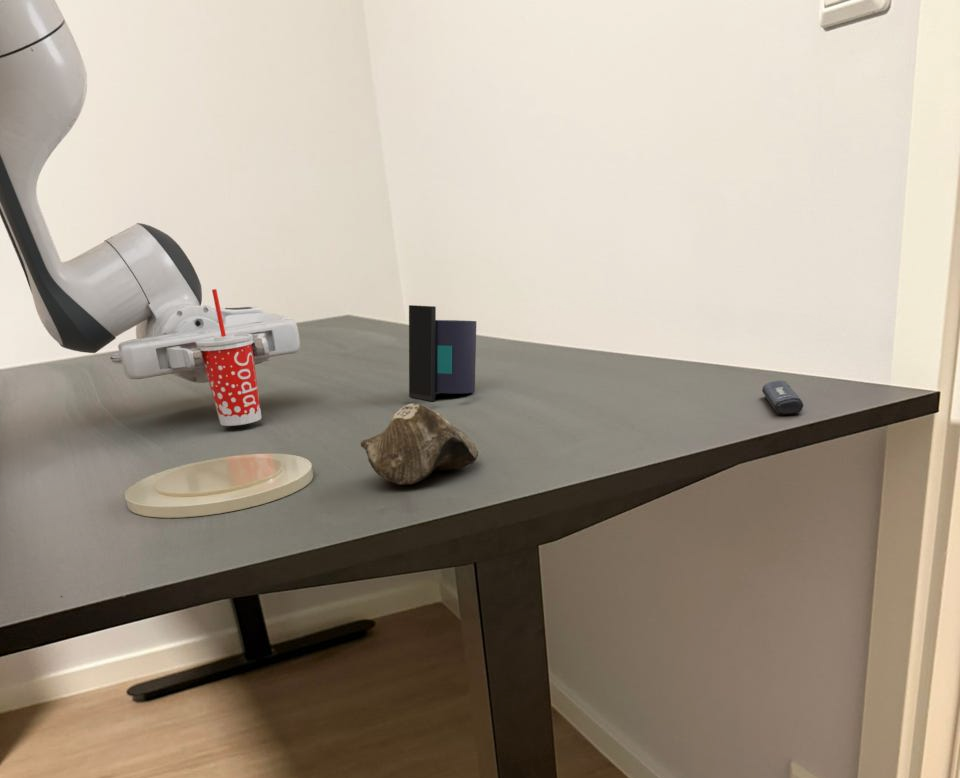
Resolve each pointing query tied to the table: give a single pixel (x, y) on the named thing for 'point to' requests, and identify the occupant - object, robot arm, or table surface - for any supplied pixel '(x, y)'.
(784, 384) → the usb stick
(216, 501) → the plate
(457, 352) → the speaker
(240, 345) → the beverage cup
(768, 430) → the table surface
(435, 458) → the fossilized seashell
